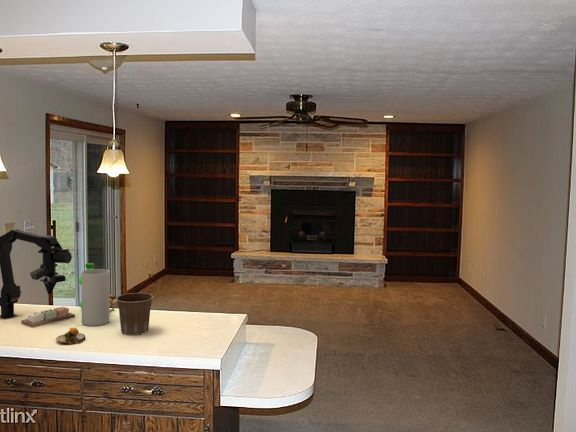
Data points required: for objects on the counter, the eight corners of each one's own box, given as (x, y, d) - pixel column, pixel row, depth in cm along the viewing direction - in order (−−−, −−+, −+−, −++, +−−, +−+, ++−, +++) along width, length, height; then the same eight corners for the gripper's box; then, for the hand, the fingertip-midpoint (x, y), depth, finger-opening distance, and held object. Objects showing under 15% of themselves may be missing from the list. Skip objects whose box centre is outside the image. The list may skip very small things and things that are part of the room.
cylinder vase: (104, 317, 249) (104, 268, 247) (112, 323, 240) (112, 272, 237) (78, 321, 242) (78, 270, 240) (86, 328, 232) (85, 275, 230)
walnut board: (21, 323, 236) (21, 320, 236) (63, 313, 254) (63, 310, 253) (32, 327, 230) (32, 324, 230) (74, 317, 248) (74, 314, 248)
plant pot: (142, 338, 220) (142, 302, 218) (109, 335, 223) (109, 299, 222) (158, 327, 236) (159, 294, 234) (127, 324, 239) (127, 291, 238)
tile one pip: (27, 320, 236) (27, 314, 235) (37, 318, 240) (37, 311, 240) (33, 322, 233) (33, 315, 233) (43, 320, 237) (43, 313, 237)
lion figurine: (109, 316, 251) (109, 299, 250) (98, 317, 250) (98, 299, 249) (115, 308, 265) (115, 292, 264) (104, 309, 264) (104, 292, 264)
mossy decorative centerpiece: (66, 335, 222) (66, 319, 221) (91, 337, 220) (91, 321, 219) (49, 344, 210) (49, 327, 209) (75, 347, 208) (74, 329, 207)
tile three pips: (53, 314, 246) (53, 308, 246) (63, 312, 251) (62, 306, 250) (59, 316, 244) (59, 310, 243) (68, 314, 248) (68, 307, 248)
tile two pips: (40, 317, 241) (40, 311, 241) (50, 315, 245) (50, 308, 245) (46, 319, 238) (46, 312, 238) (56, 317, 242) (56, 310, 242)
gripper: (22, 262, 238) (22, 294, 240) (43, 267, 228) (44, 300, 229) (44, 259, 248) (44, 289, 249) (66, 263, 237) (66, 295, 239)
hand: (49, 294), depth 241 cm, fingers closed
